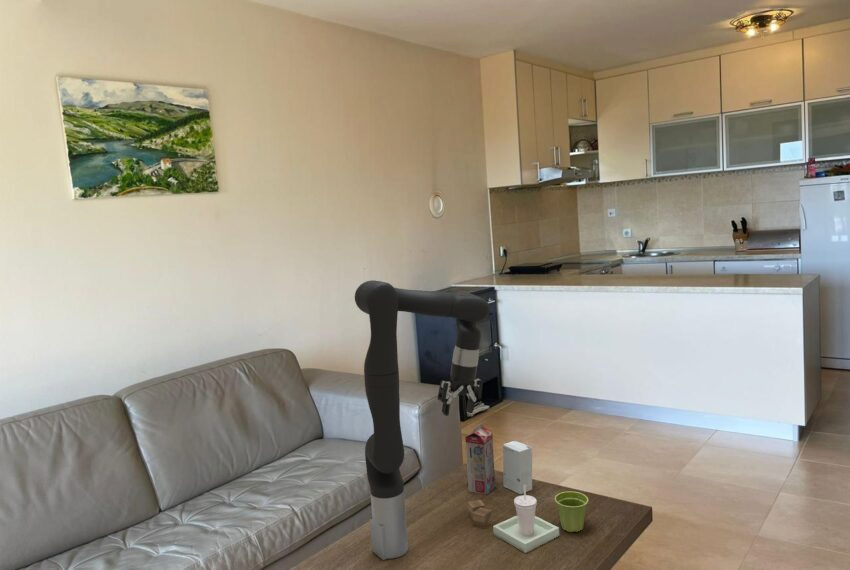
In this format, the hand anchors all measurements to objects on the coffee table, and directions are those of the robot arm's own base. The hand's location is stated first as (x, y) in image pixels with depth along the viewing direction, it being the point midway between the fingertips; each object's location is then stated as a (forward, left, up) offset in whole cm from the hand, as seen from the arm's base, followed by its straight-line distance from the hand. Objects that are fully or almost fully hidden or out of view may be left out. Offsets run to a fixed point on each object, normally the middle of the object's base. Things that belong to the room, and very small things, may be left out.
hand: (457, 413), depth 188 cm
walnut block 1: (+3, -3, -32) cm, 33 cm away
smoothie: (+6, -21, -31) cm, 38 cm away
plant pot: (+19, -27, -32) cm, 46 cm away
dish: (+6, -21, -32) cm, 39 cm away
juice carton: (+16, +10, -32) cm, 37 cm away
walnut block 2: (+1, -8, -32) cm, 33 cm away
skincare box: (+25, +2, -32) cm, 41 cm away
